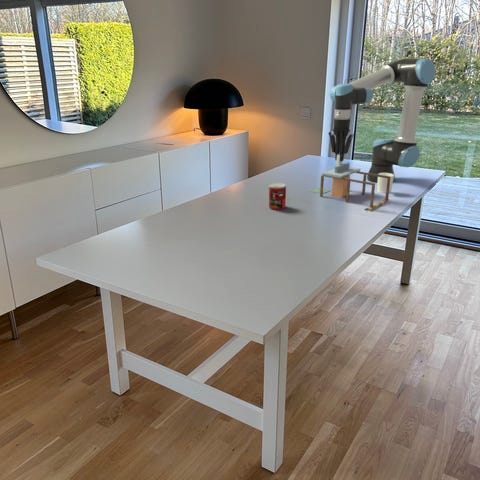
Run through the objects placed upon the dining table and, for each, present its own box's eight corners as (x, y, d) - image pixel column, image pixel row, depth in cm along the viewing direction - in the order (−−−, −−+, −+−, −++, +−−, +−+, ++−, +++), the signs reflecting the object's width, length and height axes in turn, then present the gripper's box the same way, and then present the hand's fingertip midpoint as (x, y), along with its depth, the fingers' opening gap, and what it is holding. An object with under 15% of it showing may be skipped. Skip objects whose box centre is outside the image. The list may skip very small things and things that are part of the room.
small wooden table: (322, 187, 253) (323, 164, 248) (389, 201, 229) (392, 176, 225) (301, 196, 239) (302, 171, 234) (370, 211, 216) (372, 184, 211)
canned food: (266, 208, 220) (266, 186, 216) (273, 204, 227) (273, 182, 223) (281, 211, 217) (281, 188, 213) (287, 206, 223) (288, 183, 219)
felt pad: (317, 188, 248) (317, 187, 248) (330, 190, 243) (330, 190, 243) (308, 191, 242) (308, 190, 242) (322, 194, 237) (322, 193, 237)
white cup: (388, 196, 237) (390, 177, 233) (373, 194, 241) (375, 175, 238) (394, 193, 243) (396, 174, 239) (379, 190, 247) (381, 172, 243)
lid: (342, 167, 241) (343, 160, 239) (360, 170, 235) (361, 162, 233) (322, 174, 228) (323, 166, 226) (340, 178, 221) (341, 169, 220)
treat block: (338, 192, 239) (339, 173, 236) (348, 194, 236) (350, 175, 232) (331, 195, 235) (333, 175, 231) (342, 197, 231) (343, 177, 228)
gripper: (326, 118, 224) (323, 166, 233) (350, 120, 216) (346, 170, 225) (334, 116, 229) (331, 164, 238) (358, 118, 221) (354, 168, 230)
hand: (338, 167), depth 231 cm, fingers closed
